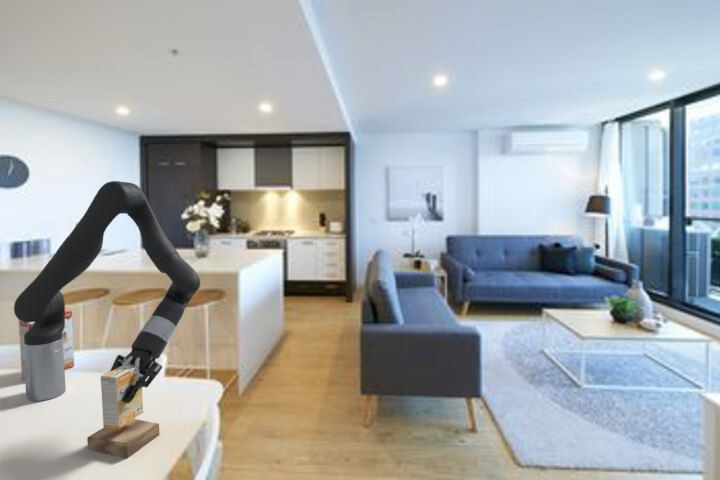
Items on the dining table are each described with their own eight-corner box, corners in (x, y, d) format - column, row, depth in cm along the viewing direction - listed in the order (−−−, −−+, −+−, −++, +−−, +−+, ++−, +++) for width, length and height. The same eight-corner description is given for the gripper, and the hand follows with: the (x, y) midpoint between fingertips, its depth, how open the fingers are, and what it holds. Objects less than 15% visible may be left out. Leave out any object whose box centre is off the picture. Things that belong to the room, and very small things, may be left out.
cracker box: (32, 382, 134) (28, 320, 132) (21, 379, 136) (16, 318, 134) (75, 366, 147) (72, 309, 145) (64, 363, 149) (61, 308, 147)
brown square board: (87, 449, 99) (87, 436, 99) (122, 427, 109) (121, 415, 108) (127, 458, 96) (127, 445, 96) (159, 434, 105) (159, 422, 105)
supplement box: (119, 430, 97) (116, 377, 96) (102, 427, 98) (99, 375, 97) (144, 412, 105) (142, 363, 104) (128, 410, 106) (126, 362, 105)
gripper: (125, 326, 109) (84, 389, 99) (166, 333, 104) (127, 399, 94) (143, 339, 115) (106, 400, 105) (183, 346, 110) (148, 410, 100)
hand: (116, 399), depth 100 cm, fingers closed on supplement box, 5 cm apart
